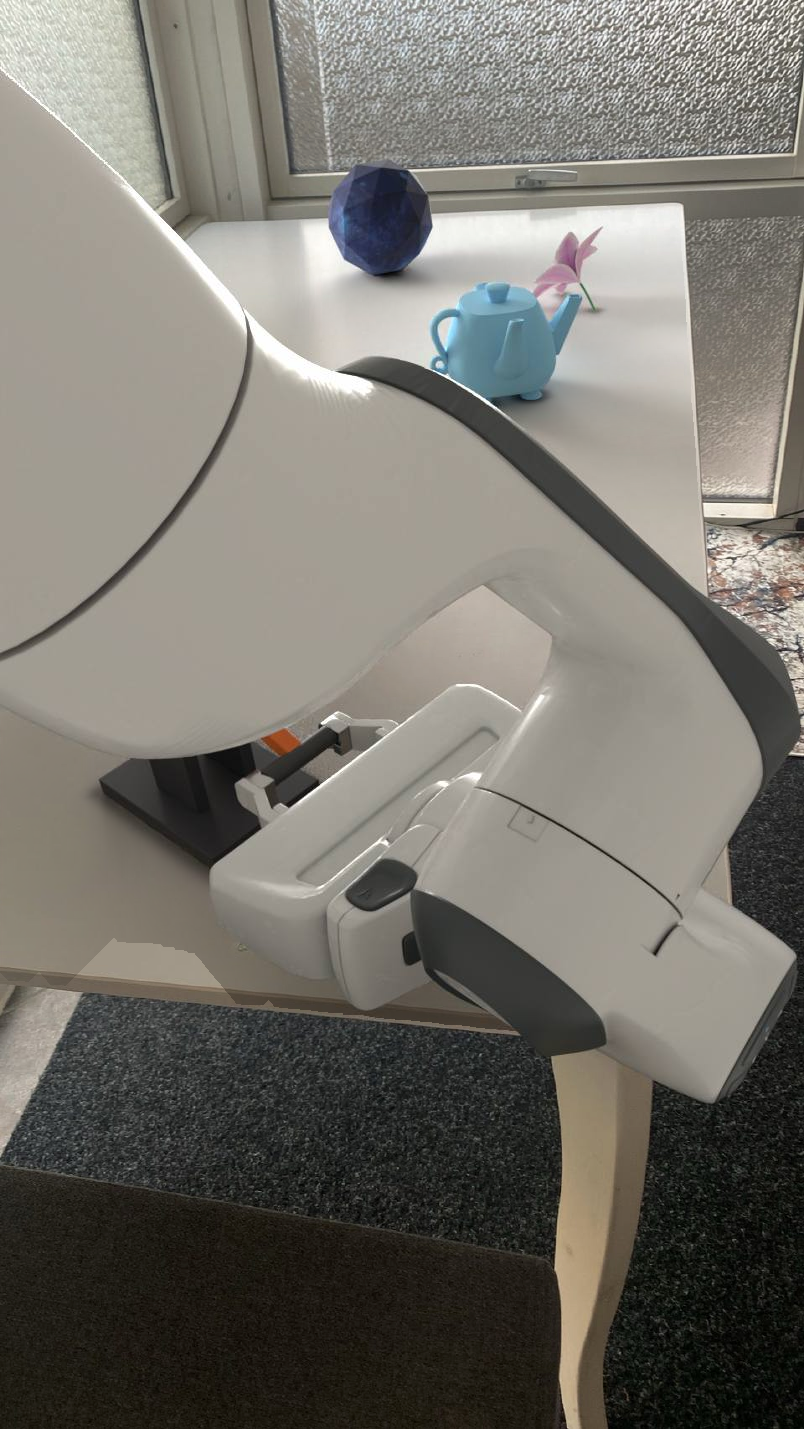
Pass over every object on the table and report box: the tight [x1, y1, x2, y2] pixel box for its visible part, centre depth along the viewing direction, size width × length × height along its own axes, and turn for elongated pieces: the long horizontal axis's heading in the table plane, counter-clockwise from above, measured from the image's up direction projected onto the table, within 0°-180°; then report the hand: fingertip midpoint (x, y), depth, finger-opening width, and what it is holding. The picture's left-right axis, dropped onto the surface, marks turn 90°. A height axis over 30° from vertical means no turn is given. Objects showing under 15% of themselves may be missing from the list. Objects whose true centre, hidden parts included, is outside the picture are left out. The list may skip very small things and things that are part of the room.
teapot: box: [429, 281, 583, 404], centre depth 119 cm, size 15×14×11 cm
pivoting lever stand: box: [98, 741, 321, 869], centre depth 70 cm, size 12×9×14 cm
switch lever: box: [260, 726, 337, 786], centre depth 65 cm, size 13×5×2 cm, turn 48°
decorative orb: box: [327, 158, 434, 276], centre depth 155 cm, size 14×15×15 cm
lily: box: [532, 226, 604, 311], centre depth 139 cm, size 12×12×10 cm
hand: (287, 755), depth 64 cm, fingers closed on switch lever, 5 cm apart
